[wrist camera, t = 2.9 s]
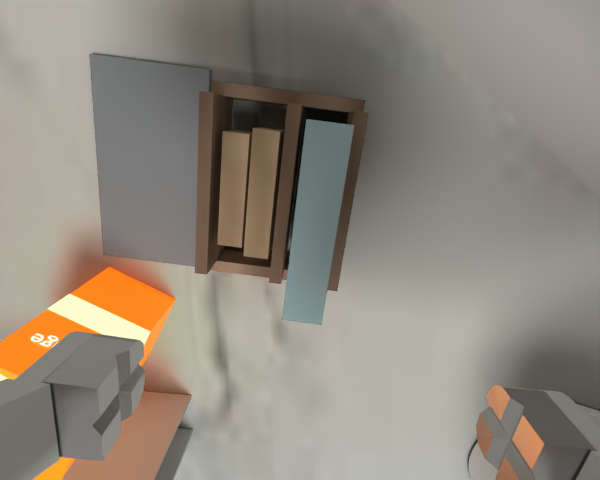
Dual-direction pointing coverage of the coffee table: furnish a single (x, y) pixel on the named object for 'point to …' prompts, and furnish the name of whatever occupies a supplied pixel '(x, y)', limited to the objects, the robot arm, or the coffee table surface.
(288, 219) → the rack
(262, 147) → the offcut
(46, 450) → the robot arm
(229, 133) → the offcut
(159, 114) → the mat
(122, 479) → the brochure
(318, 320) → the light blue slab
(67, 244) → the coffee table surface
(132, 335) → the orange juice
